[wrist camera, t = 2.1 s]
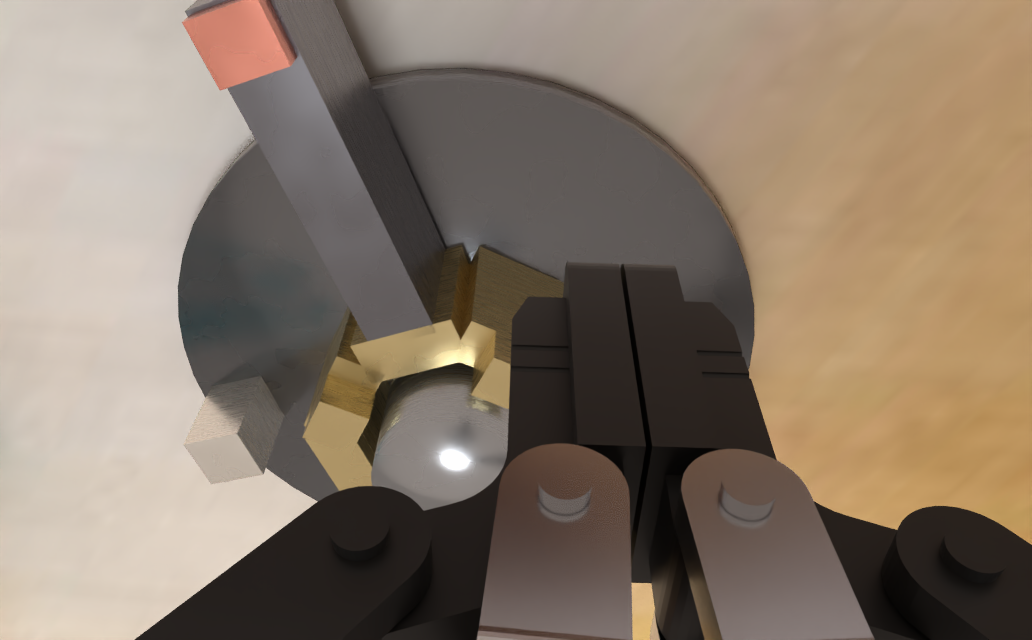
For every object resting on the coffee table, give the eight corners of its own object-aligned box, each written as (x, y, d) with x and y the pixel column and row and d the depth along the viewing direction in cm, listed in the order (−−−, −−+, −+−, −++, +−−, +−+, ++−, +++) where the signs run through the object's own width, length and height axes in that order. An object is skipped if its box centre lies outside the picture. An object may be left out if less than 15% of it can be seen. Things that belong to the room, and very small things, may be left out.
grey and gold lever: (622, 423, 31) (635, 535, 27) (398, 473, 33) (378, 586, 29) (433, -109, 21) (406, -61, 17) (122, 8, 23) (27, 78, 18)
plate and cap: (857, 172, 26) (943, 301, 21) (628, 560, 38) (643, 711, 32) (209, -20, 23) (104, 70, 18) (173, 464, 35) (102, 612, 29)
